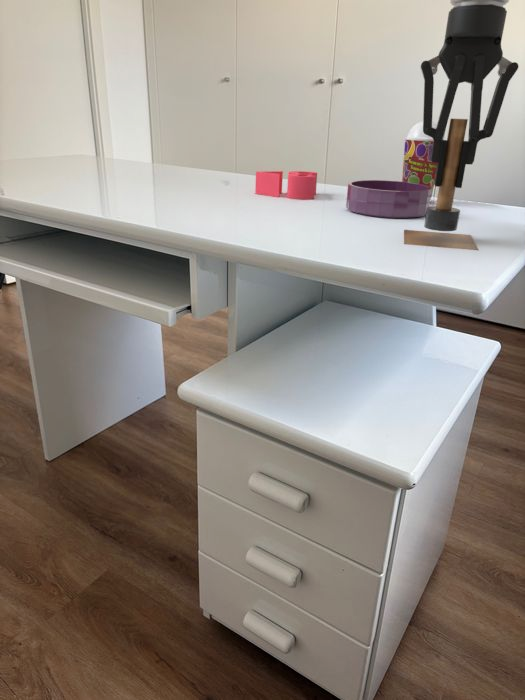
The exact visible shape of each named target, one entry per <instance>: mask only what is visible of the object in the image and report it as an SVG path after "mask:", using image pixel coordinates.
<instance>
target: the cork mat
mask: <svg viewBox="0 0 525 700" xmlns="http://www.w3.org/2000/svg"><path fill="white" fill-rule="evenodd" d="M403 245H409V246H410V245H411V246H421V247H432V248H434V247H435V248H443V249H445V248H446V249H456V250H457V249H458V250H466V251H467V250H470V251H480V250H479V248H478V246H477V244H476V242H475V239H474V238H473V236H472V234H465V233H451V232H441V231H428V230H427V231H425V230H413V229H403Z"/></svg>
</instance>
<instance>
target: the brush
mask: <svg viewBox="0 0 525 700" xmlns="http://www.w3.org/2000/svg"><path fill="white" fill-rule="evenodd" d="M468 120H469V119H467V118H450V120H449V126H448V132H447V137H446V140H447V141H448V143H447V149H446V155H445V161H444V167H443V173H442V179H441V185H440V187H438V193H437V197H436V198H437V199H436V204H435V205H432V206H431V205H430V206H429V207H427V212H426V215H425V219H424V225H423V227H424V228H425V229H428V230H432V231H435V232H454V231H457V230H458V224H459V219H460V215H461V209H459V208H457V207H453V203H454V198H455V192H456V189H457V188H456V182H457V176H458V171H459V165H460V159H461V154H462V148H463V143H464V141H465V136H466V131H467V127H468Z"/></svg>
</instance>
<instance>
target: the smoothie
mask: <svg viewBox="0 0 525 700" xmlns="http://www.w3.org/2000/svg"><path fill="white" fill-rule="evenodd" d="M436 127H437V123H436V122H434V121H432V128H435V129H436ZM443 140H445V138H444V137H443ZM433 141H434V140H433V138H432V137H430V136H428V135H426V134H424V132H423V120H420V121H418V122H417V123H415V124H414V125H413V126H411V128H410V129H409V131H408V132H407V135H406V136H405V137H404V148H403V149H404V150H403V163H402V179H401V181H402V182H411V183H418V184H423V185H427V186H430V187H432V194H431V197H432V195H433V191H434V187H435V185H434V183H435V177H436V171H437V164H438V163H434V162H432V160H431V155H432V148H433Z"/></svg>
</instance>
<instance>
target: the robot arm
mask: <svg viewBox="0 0 525 700" xmlns="http://www.w3.org/2000/svg"><path fill="white" fill-rule="evenodd" d="M509 2H510V0H450V2H449V3H450V4H451V6H452V8H451V9H450V11H448V16H447V23H446V28H445V35H444V40H443V46H442V47H441V49H440V50H439V52H438V55H436V56H435V57H432V58H430V59H429V60H423V61H422V62H421V64H420V71H421V74H422V78H423V80H424V83H423V85H424V86H423V112H422V114H423V115H422V121H423V132H424V134H426V135H428V136H430V137H432V138H433V140H434V141H433V148H432V155H431V160H432V162H434V163H438V164H437V171H436V177H435V183H434V187H437V188H439V187H440V185H441V179H442V173H443V167H444V161H445V155H446V149H447V143H448V141H447V139H446V140H445V139H444V140H443V138H444V136H445V133H446V129H447V125H448V122H449V118H450V115H451V111H452V107H453V104H454V100H455V97H456V94H457V90H458V88H459V84H462V83H468V84H470V104H469V119H468V120H469V122H468V140H464V143H463V148H462V154H461V159H460V165H459V171H458V176H457V182H456V188H455V189H462V187H463V181H464V176H465V170H466V166H467V165H473V164H474V163H475V158H476V152H477V147H478V144H479V142H480V141H481V140H484V139H489V138H491V137H492V136H493V134H494V132H495V128H496V125H497V122H498V118H499V115H500V112H501V109H502V106H503V102H504V99H505V96H506V93H507V90H508V86H509V85H510V84H509V83H510V81H511V80H512V78H513V77H514V75H515V74H516V73H517V71H518V70H519V64H518V62H512V61H511V60H509V59H507V58H506V57H504V52H503V49H502V41H503V34H504V29H505V24H506V18H507V14H508V11H507V9H506V8H505V7H504V6H506V5H507V4H508V3H509ZM439 64H440V65H441V67H442V70H444V73H445V75H446V77H447V79H448V83H447V86H446V91H445V94H444V98H443V101H442V105H441V109H440V112H439V116H438V120H437V123H436V124H437V127H436V129H435V128H432V122H433V109H434V107H433V106H434V87H435V86H434V85H435V84H434V83H435V82H434V81H435V80H434V75H436V74H437V73H438V66H439ZM496 66H498V68H497V69H498V70H497V76H498V77H499V78H498V80H497V82H496V85H495V89H494V92H493V94H492V98H491V102H490V105H489V108H488V110H487V114H486V117H485V121H484V124H483V127H482V129H480V127H481V126H480V125H481V111H482V97H483V87H484V80H485V79H486V78H487V77H488V76H489V74H490V73H491V72H492V71H493V70H494V69H495V68H496Z"/></svg>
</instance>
